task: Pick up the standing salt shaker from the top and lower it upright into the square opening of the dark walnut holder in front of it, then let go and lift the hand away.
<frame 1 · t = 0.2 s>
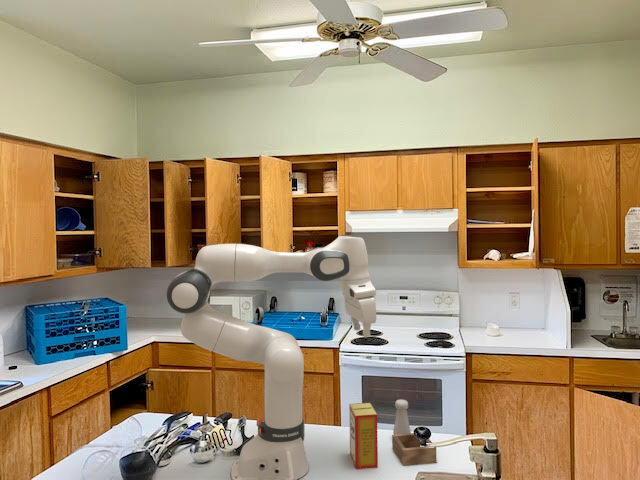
hand: (361, 333, 134), 39 cm above the worktop, tool pointing down, fingers open, 8 cm apart
baking soda box: (363, 460, 135), on the worktop
salt shaker: (402, 440, 148), on the worktop
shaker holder: (413, 455, 137), on the worktop
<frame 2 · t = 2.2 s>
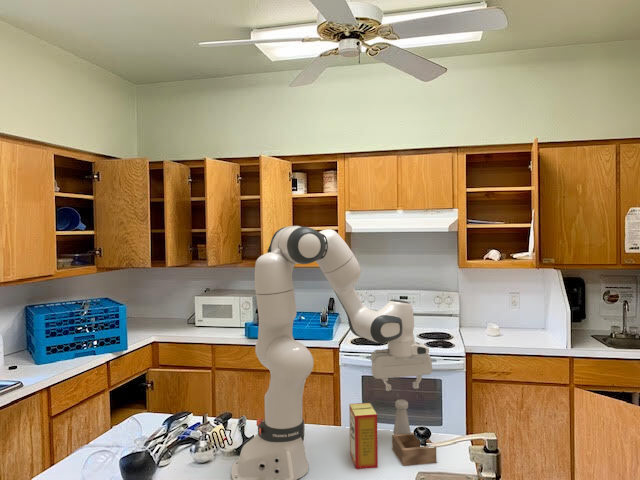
hand: (402, 389, 148), 17 cm above the worktop, tool pointing down, fingers open, 8 cm apart
nothing on the worktop moved.
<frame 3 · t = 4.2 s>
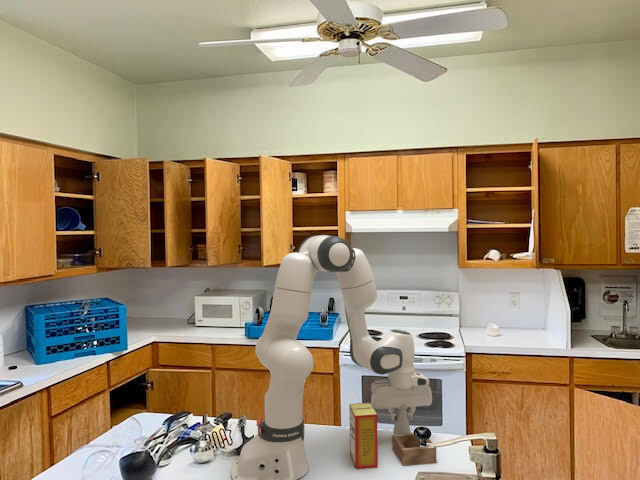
hand: (401, 419, 148), 7 cm above the worktop, tool pointing down, fingers closed on salt shaker, 4 cm apart
salt shaker: (402, 440, 148), on the worktop, touching gripper
everything else where it was.
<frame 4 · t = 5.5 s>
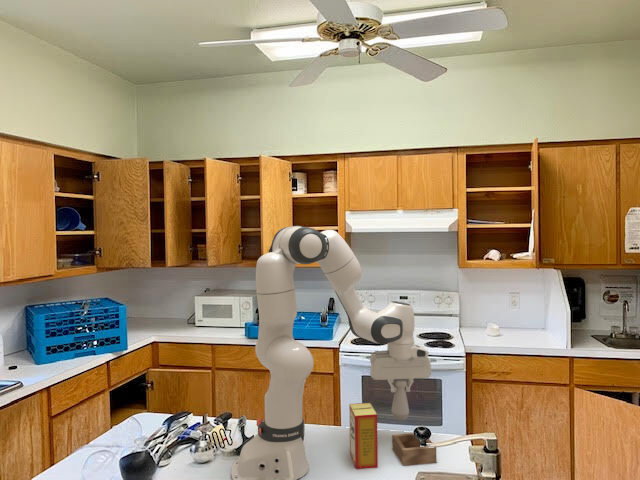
hand: (400, 391, 148), 16 cm above the worktop, tool pointing down, fingers closed on salt shaker, 3 cm apart
salt shaker: (400, 418, 148), point 7 cm above the worktop, touching gripper
everything else where it was.
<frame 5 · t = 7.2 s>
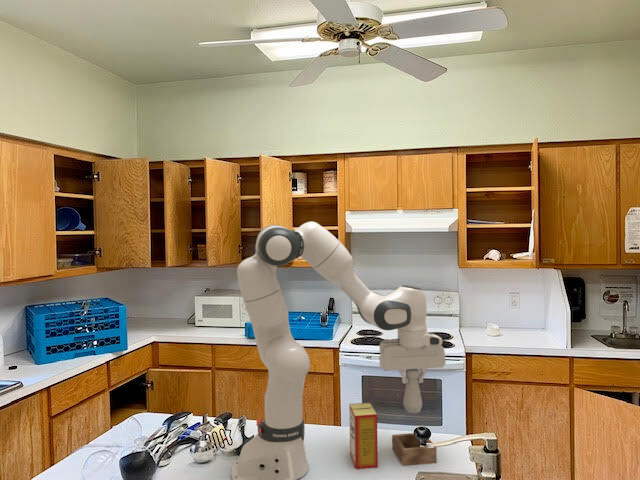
hand: (412, 382, 137), 23 cm above the worktop, tool pointing down, fingers closed on salt shaker, 3 cm apart
salt shaker: (412, 411, 137), point 14 cm above the worktop, touching gripper
everything else where it was.
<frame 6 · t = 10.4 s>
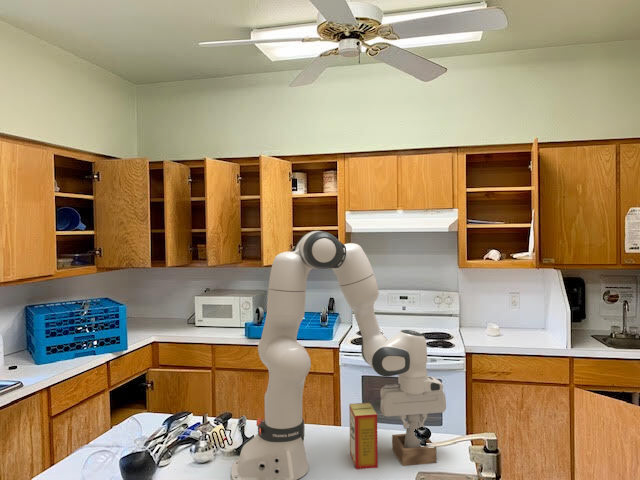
hand: (413, 427, 137), 9 cm above the worktop, tool pointing down, fingers closed on salt shaker, 3 cm apart
salt shaker: (413, 454, 137), resting on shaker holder, touching gripper
everything else where it was.
when the fingers open (9 cm above the worktop, at t = 10.4 s): salt shaker stays where it is, resting on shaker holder.
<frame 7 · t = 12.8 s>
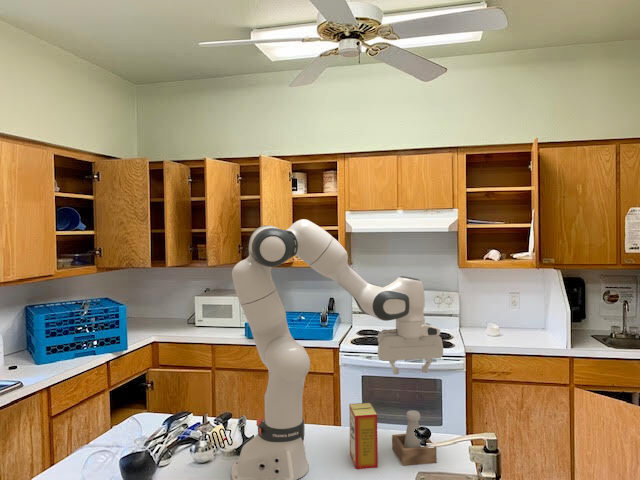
hand: (410, 373, 138), 25 cm above the worktop, tool pointing down, fingers open, 8 cm apart
salt shaker: (413, 454, 137), resting on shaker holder
everything else where it was.
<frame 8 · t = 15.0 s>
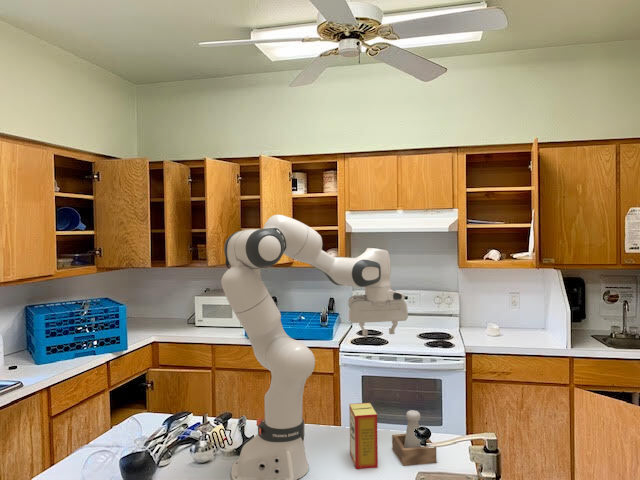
hand: (378, 334, 153), 34 cm above the worktop, tool pointing down, fingers open, 8 cm apart
nothing on the worktop moved.
at the end: salt shaker 0.1 cm off-centre on the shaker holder, point 0.4 cm above the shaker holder's base; salt shaker tilted 0°; the gripper is holding nothing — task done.
